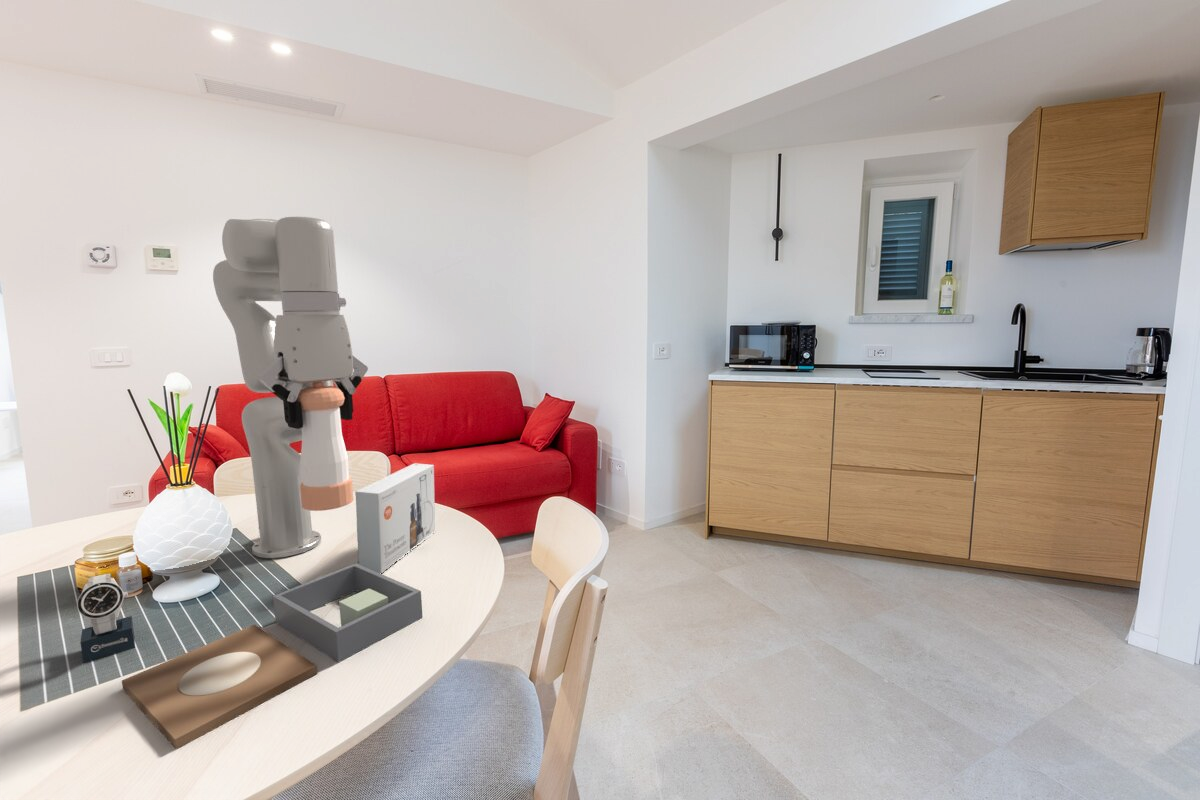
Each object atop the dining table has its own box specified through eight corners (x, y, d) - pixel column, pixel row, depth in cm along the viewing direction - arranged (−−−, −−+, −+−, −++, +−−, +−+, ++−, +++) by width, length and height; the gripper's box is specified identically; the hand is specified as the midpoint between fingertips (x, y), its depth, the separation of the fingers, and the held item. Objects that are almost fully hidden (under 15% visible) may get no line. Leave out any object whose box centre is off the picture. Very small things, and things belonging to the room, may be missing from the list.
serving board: (122, 689, 72) (121, 679, 72) (255, 631, 85) (254, 623, 85) (176, 749, 62) (174, 738, 62) (317, 673, 75) (316, 664, 75)
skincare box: (383, 575, 104) (377, 493, 101) (357, 573, 105) (351, 491, 102) (438, 532, 124) (434, 463, 122) (416, 530, 125) (411, 462, 123)
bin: (275, 622, 88) (272, 596, 87) (357, 587, 99) (356, 563, 98) (338, 662, 77) (336, 632, 77) (422, 617, 89) (420, 591, 88)
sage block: (341, 632, 85) (339, 601, 84) (371, 617, 89) (369, 588, 88) (360, 642, 82) (357, 611, 82) (390, 627, 86) (388, 597, 86)
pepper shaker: (350, 508, 85) (340, 383, 82) (297, 513, 83) (284, 385, 80) (356, 493, 92) (347, 377, 89) (307, 498, 90) (296, 379, 87)
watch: (82, 669, 77) (70, 594, 75) (86, 643, 83) (74, 573, 81) (135, 653, 80) (125, 581, 78) (135, 629, 86) (125, 562, 85)
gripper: (351, 306, 92) (359, 412, 94) (234, 305, 78) (248, 430, 80) (378, 305, 87) (386, 416, 90) (260, 304, 73) (273, 436, 76)
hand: (321, 422), depth 85 cm, fingers closed on pepper shaker, 7 cm apart
